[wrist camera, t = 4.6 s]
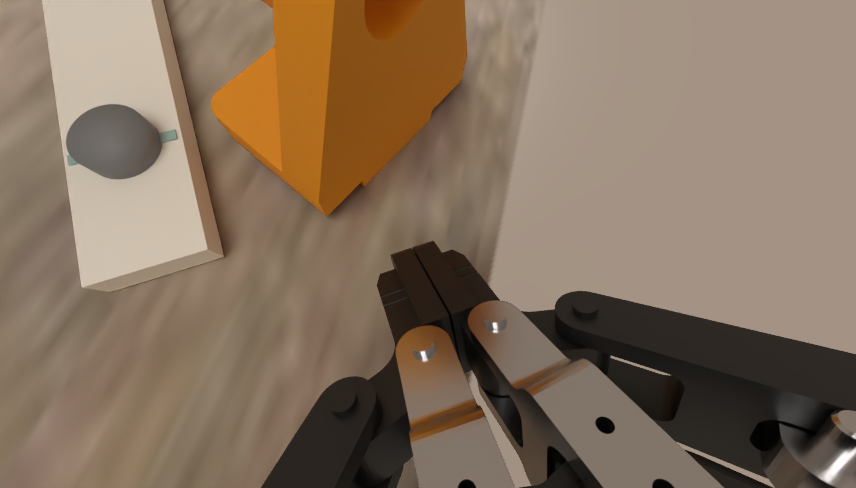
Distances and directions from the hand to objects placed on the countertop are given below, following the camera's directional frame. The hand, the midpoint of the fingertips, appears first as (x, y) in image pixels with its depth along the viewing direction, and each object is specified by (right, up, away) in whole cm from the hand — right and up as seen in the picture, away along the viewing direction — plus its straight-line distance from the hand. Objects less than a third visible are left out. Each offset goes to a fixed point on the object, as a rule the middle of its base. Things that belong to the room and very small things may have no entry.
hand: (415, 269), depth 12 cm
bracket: (-4, +8, +8) cm, 12 cm away
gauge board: (-16, +10, +7) cm, 20 cm away
